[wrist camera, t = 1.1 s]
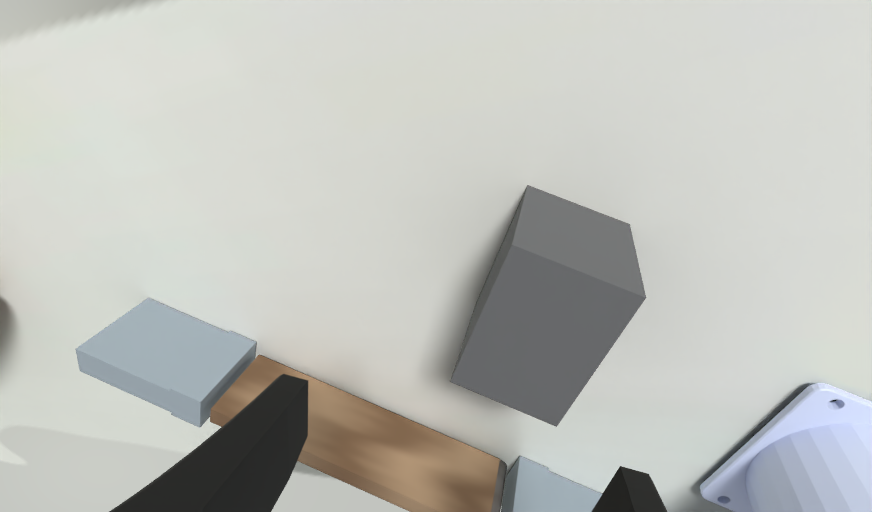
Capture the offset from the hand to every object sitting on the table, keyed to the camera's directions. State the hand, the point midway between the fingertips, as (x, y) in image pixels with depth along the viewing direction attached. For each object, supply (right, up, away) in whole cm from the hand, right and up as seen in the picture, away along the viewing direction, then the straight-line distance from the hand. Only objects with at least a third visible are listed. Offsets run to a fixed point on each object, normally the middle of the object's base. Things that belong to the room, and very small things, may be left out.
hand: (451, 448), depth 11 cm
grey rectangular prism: (+4, +4, +8) cm, 10 cm away
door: (-3, -4, +15) cm, 16 cm away
